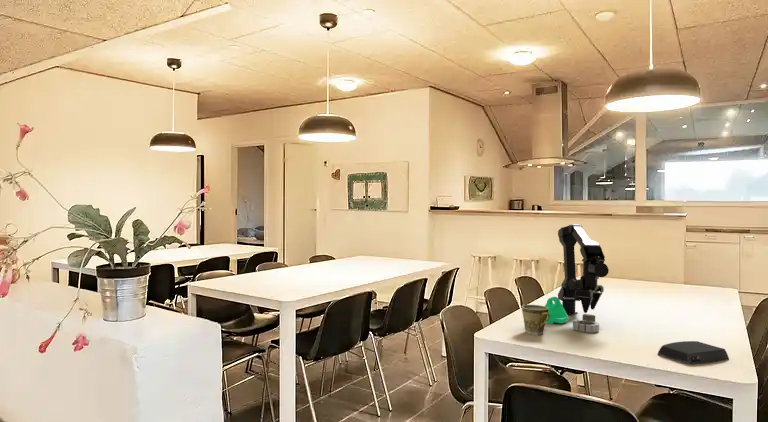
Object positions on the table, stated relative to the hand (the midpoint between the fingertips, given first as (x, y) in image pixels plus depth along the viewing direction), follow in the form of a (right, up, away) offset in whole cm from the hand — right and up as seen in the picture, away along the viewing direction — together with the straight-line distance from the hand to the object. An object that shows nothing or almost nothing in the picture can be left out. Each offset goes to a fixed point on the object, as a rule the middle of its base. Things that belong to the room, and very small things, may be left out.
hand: (588, 311), depth 217 cm
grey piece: (-5, -6, -9) cm, 12 cm away
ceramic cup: (-27, -6, -17) cm, 32 cm away
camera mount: (-14, -6, +5) cm, 16 cm away
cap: (0, -6, 0) cm, 6 cm away
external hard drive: (+18, -8, -43) cm, 47 cm away
